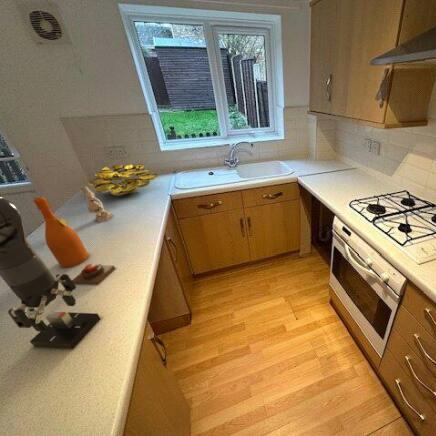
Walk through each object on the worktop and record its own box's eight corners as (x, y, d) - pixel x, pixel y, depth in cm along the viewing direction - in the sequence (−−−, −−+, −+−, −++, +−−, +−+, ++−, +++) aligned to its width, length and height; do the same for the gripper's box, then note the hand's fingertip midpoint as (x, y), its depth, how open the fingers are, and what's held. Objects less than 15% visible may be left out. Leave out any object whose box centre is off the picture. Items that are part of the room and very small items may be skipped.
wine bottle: (74, 269, 98) (34, 203, 84) (54, 268, 100) (12, 202, 85) (95, 255, 107) (62, 193, 92) (76, 253, 108) (41, 192, 94)
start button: (83, 272, 91) (81, 269, 90) (91, 266, 94) (89, 263, 93) (92, 273, 90) (90, 269, 90) (99, 266, 94) (98, 263, 93)
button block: (74, 284, 90) (69, 276, 88) (93, 269, 98) (88, 261, 96) (98, 285, 90) (94, 277, 88) (116, 269, 97) (112, 261, 96)
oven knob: (54, 329, 70) (44, 316, 67) (60, 323, 72) (51, 310, 69) (70, 330, 69) (60, 317, 67) (76, 324, 71) (67, 311, 69)
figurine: (96, 218, 139) (80, 185, 129) (113, 214, 142) (99, 182, 132) (93, 224, 132) (76, 191, 122) (111, 221, 135) (96, 188, 125)
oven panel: (35, 348, 68) (29, 341, 67) (66, 318, 77) (61, 311, 75) (74, 350, 67) (68, 343, 66) (101, 320, 76) (97, 313, 74)
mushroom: (96, 211, 147) (83, 184, 139) (92, 191, 178) (82, 168, 170) (166, 193, 169) (159, 169, 161) (152, 178, 200) (145, 157, 192)
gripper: (41, 256, 67) (69, 297, 75) (-20, 294, 55) (21, 339, 63) (65, 256, 67) (91, 298, 75) (9, 295, 54) (47, 340, 62)
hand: (59, 317), depth 69 cm, fingers open, 8 cm apart
